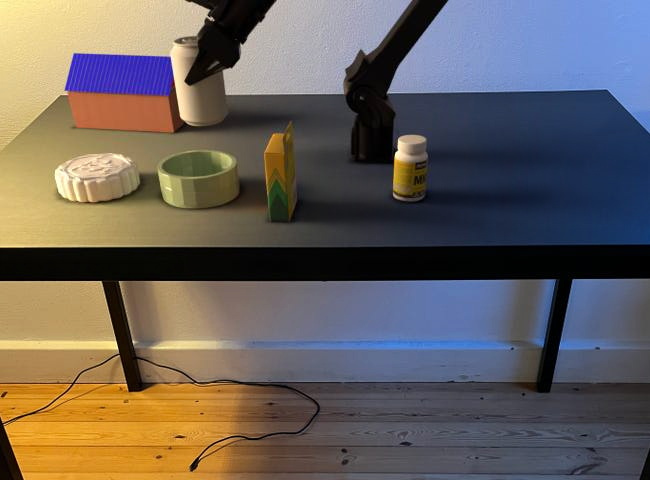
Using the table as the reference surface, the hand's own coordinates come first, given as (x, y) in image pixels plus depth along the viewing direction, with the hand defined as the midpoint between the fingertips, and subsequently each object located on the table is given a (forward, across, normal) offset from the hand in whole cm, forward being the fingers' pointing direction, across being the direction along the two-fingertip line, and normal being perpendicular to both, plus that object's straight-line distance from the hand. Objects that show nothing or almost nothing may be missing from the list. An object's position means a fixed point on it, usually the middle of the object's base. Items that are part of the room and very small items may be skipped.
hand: (189, 76), depth 104 cm
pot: (+8, +13, +10) cm, 19 cm away
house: (+20, -23, -1) cm, 30 cm away
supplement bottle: (-13, +17, +32) cm, 39 cm away
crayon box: (0, +20, +19) cm, 28 cm away
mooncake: (+20, +10, -1) cm, 22 cm away
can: (+4, 0, +6) cm, 7 cm away
